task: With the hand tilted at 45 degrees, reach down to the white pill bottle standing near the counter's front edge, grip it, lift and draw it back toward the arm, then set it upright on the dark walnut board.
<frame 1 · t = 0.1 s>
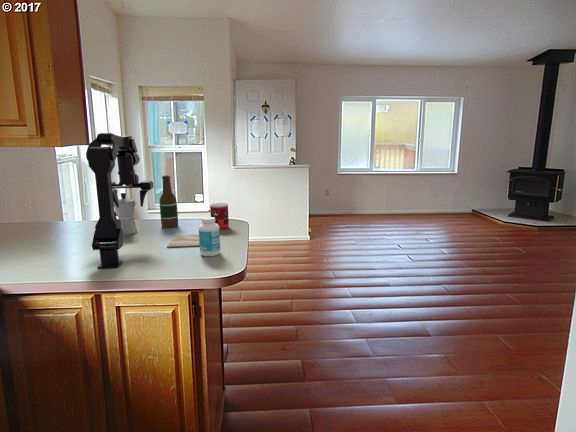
hand: (130, 207, 161), 15 cm above the countertop, tool pointing down, fingers open, 9 cm apart
beer bottle: (170, 226, 190), on the countertop
pill bottle: (210, 254, 148), on the countertop
canned food: (220, 228, 186), on the countertop
walnut board: (187, 241, 164), on the countertop
coffee maker: (125, 233, 180), on the countertop
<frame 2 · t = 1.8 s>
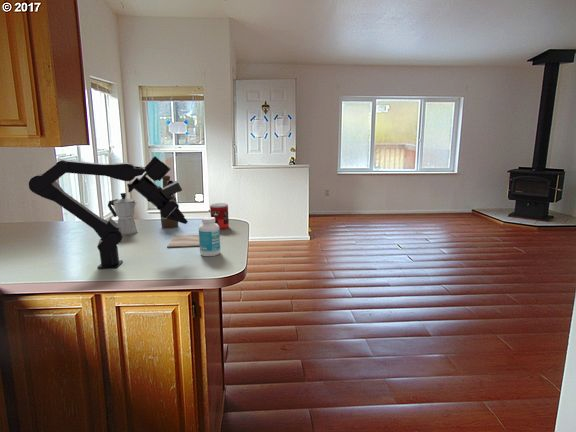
hand: (185, 220, 143), 13 cm above the countertop, tool tilted 45°, fingers open, 9 cm apart
nothing on the countertop moved.
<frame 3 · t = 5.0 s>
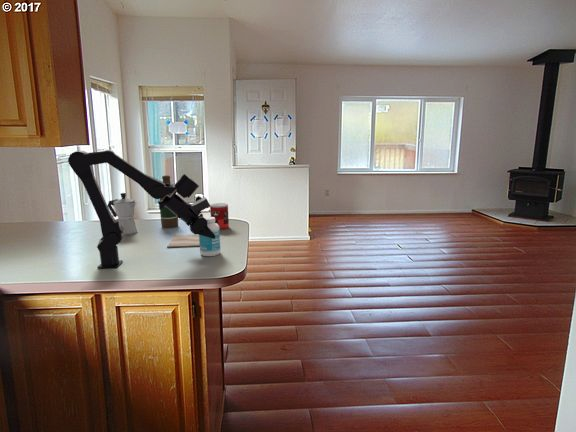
hand: (213, 234, 147), 7 cm above the countertop, tool tilted 45°, fingers closed on pill bottle, 7 cm apart
pill bottle: (210, 254, 148), on the countertop, touching gripper
everything else where it was.
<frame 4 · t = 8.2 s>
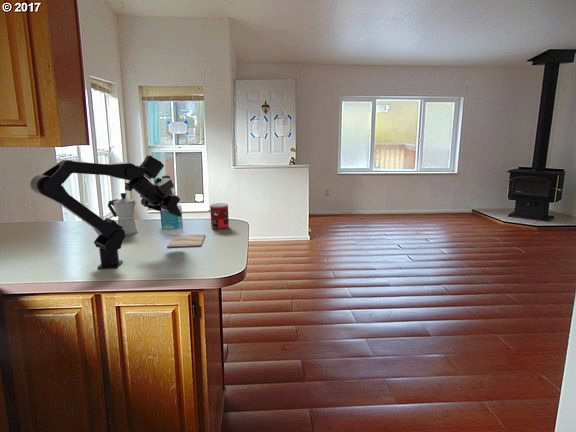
hand: (174, 214, 153), 13 cm above the countertop, tool tilted 45°, fingers closed on pill bottle, 7 cm apart
pill bottle: (173, 233, 154), point 6 cm above the countertop, touching gripper
everything else where it was.
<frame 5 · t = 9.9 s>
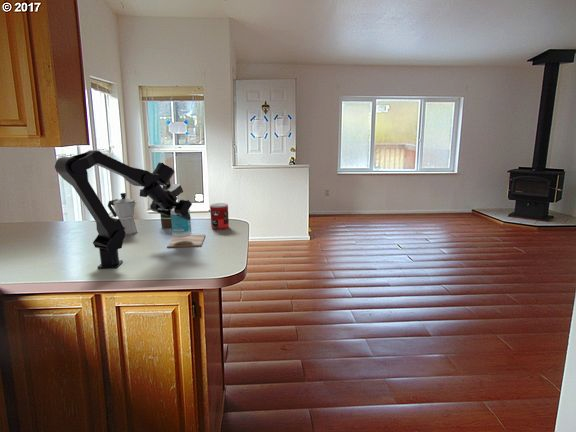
hand: (183, 217, 161), 10 cm above the countertop, tool tilted 45°, fingers closed on pill bottle, 7 cm apart
pill bottle: (182, 236, 162), point 3 cm above the countertop, touching gripper
everything else where it was.
when the fingers open (9 cm above the countertop, at t = 11.4 s): pill bottle drops 1 cm, resting on walnut board.
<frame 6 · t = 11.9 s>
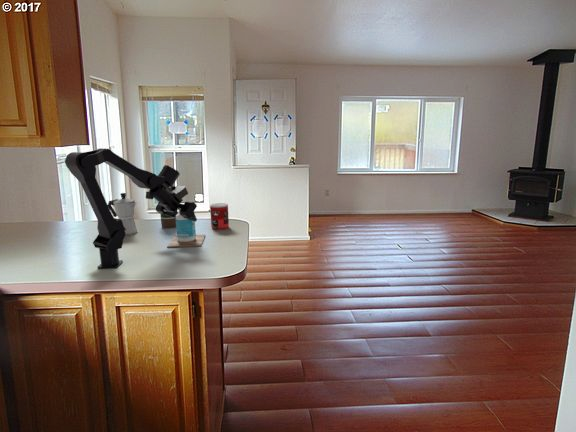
hand: (188, 219, 163), 9 cm above the countertop, tool tilted 45°, fingers open, 9 cm apart
pill bottle: (186, 240, 164), resting on walnut board
everything else where it was.
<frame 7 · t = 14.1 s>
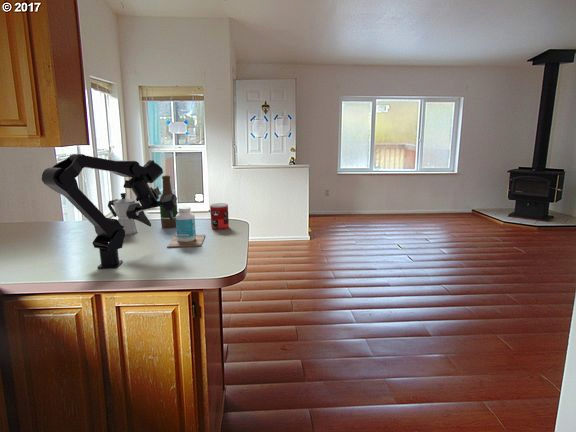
hand: (161, 223, 155), 10 cm above the countertop, tool tilted 30°, fingers open, 9 cm apart
nothing on the countertop moved.
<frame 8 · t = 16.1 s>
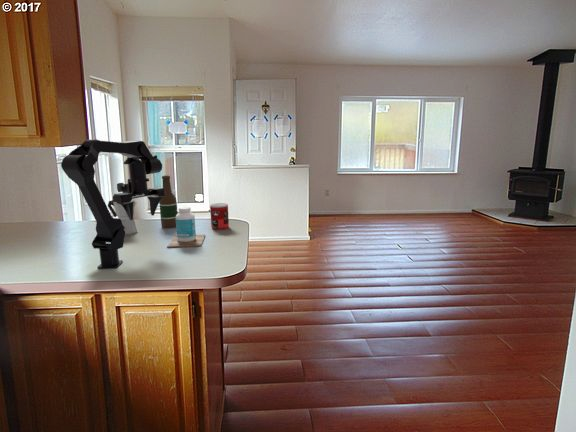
hand: (142, 217, 149), 13 cm above the countertop, tool pointing down, fingers open, 9 cm apart
nothing on the countertop moved.
at the end: pill bottle inside the target area on the walnut board (0.2 cm from its centre), point 0.4 cm above the walnut board's base; pill bottle tilted 0°; the gripper is holding nothing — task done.
